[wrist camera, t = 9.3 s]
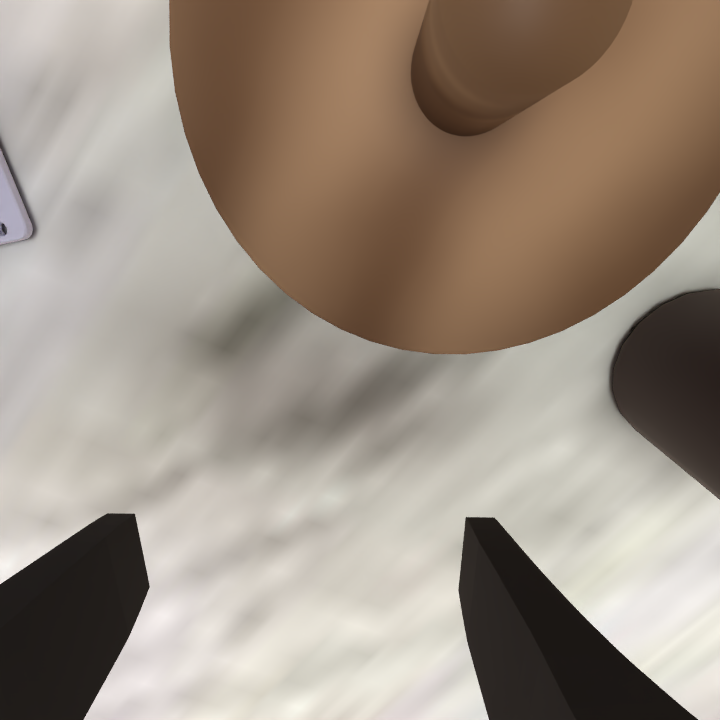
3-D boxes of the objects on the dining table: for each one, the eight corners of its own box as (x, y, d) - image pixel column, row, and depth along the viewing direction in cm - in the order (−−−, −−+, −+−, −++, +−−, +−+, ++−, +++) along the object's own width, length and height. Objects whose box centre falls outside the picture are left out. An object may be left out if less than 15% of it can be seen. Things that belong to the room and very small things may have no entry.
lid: (166, 295, 14) (51, 345, 9) (207, -431, 9) (-3, -1270, 4) (619, 385, 14) (753, 479, 9) (888, -232, 10) (1460, -711, 5)
